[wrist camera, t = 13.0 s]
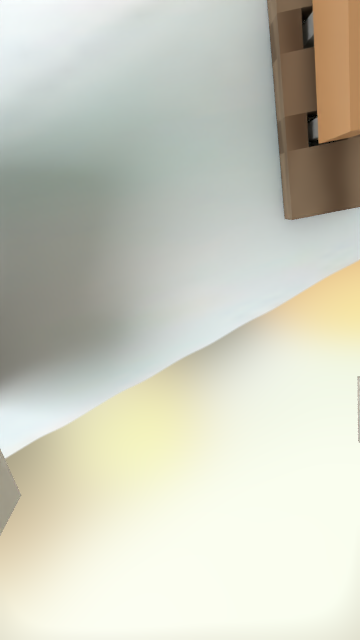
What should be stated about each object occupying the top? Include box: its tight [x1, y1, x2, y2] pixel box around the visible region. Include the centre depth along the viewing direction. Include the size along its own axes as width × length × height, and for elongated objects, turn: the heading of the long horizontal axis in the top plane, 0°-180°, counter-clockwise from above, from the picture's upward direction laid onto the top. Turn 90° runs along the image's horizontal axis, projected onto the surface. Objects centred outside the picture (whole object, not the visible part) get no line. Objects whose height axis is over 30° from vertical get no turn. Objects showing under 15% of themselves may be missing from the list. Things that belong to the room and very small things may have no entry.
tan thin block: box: [302, 0, 360, 144], centre depth 29 cm, size 3×11×10 cm, turn 11°
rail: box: [267, 0, 360, 220], centre depth 32 cm, size 8×24×2 cm, turn 11°
